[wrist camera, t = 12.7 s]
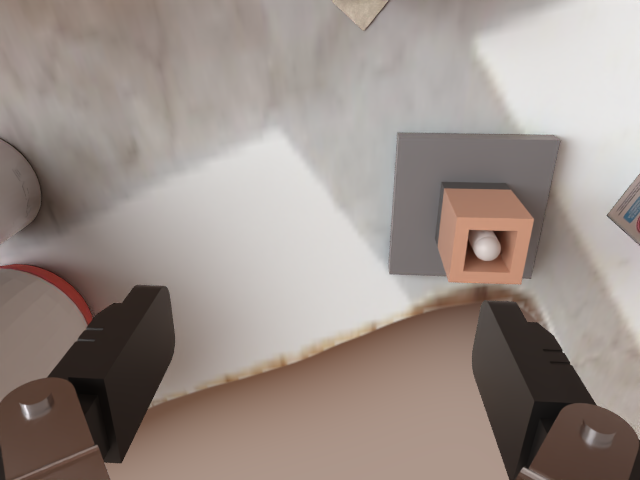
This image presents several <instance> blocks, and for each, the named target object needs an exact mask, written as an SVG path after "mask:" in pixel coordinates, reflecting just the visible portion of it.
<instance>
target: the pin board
mask: <svg viewBox="0 0 640 480" xmlns="http://www.w3.org/2000/svg"><path fill="white" fill-rule="evenodd" d="M559 145H560V139H558V138H557V137H555V136H554V135H517V134H451V133H397V147H396V162H395V177H394V192H393V206H392V221H391V236H390V251H389V274H399V275H431V276H447V275H446V272H445V269H444V266H443V263H442V259H441V256H440V253H439V250H438V247H437V244H436V241H435V234H436V224H437V215H438V206H439V197H440V188H441V182H479V183H506V184H507V185H508V186H509V188H510V189H511V190H512V192H513V193H514V194H515V195H516V197H517V198H518V199H519V200H520V202H521V203H522V204H523V206H524V207H525V208H526V209H527V211H528V212H529V213H530V214H531V216H532V217H533V218H534V222H533V227H532V232H531V237H530V242H529V247H528V252H527V257H526V262H525V267H524V271H523V276H522V278H526V279H531V276H532V272H533V267H534V262H535V257H536V253H537V248H538V243H539V239H540V234H541V229H542V225H543V220H544V215H545V210H546V206H547V201H548V196H549V192H550V187H551V182H552V177H553V173H554V168H555V163H556V159H557V154H558V149H559ZM468 240H469V242H470V244H471V246H472V249H473V251H474V253H475V255H476V256H477V257H478V258H479V259H481V260H483V261H491V260H494V259H495V258H497V257H498V255H499V254H500V251H501V245H500V243H499V241H498V239H497V237H496V236H495V234H494V232H493V230H469V234H468Z"/></svg>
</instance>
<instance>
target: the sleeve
mask: <svg viewBox="0 0 640 480" xmlns="http://www.w3.org/2000/svg"><path fill="white" fill-rule="evenodd" d="M533 222H534V218H533V217H532V216H531V214H530V213H529V212H528V211H527V209H526V208H525V207H524V206H523V204H522V203H521V202H520V200H519V199H518V198H517V197H516V195H515V194H514V193H513V192H512V190H511V189H510V188H509V186H508V185H507V184H506V183H479V182H441V188H440V197H439V206H438V215H437V224H436V234H435V241H436V244H437V247H438V250H439V253H440V256H441V259H442V263H443V266H444V269H445V272H446V275H447V278H448V281H449V282H462V283H495V284H521V281H522V276H523V271H524V267H525V262H526V257H527V252H528V247H529V242H530V237H531V232H532V227H533ZM469 230H493V232H494V234H495V236H496V237H497V239H498V241H499V243H500V245H501V251H500V254H499V255H498V257H497V258H495V259H494V260H491V261H483V260H481V259H479V258H478V257H477V256H476V255H475V253H474V251H473V249H472V246H471V244H470V242H469V240H468V234H469Z"/></svg>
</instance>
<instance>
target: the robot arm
mask: <svg viewBox="0 0 640 480" xmlns="http://www.w3.org/2000/svg"><path fill="white" fill-rule="evenodd" d="M40 206H41V190H40V185H39V182H38V179H37V177H36V174H35V172H34V171H33V169H32V167H31V166H30V164H29V163H28V162H27V160H26V159H25V158H24V157H23V156H22V154H20V153H19V152H18V151H17V150H16V149H15V148H14V147H12V146H11V145H9V144H8V143H6V142H5V141H3V140H1V139H0V244H2V243H3V242H5V241H6V240H8V239H9V238H10V237H12V236H13V235H15V234H16V233H17V232H19V231H20V230H22V229H23V228H25V227H26V226H27V225H28V224H30V223H31V222H32V221H33V220H34V218H35V217H36V216H37V214H38V211H39V208H40ZM174 347H175V333H174V326H173V318H172V310H171V302H170V294H169V290H168V288H167V287H166V286H150V285H136V286H134V288H133V289H132V290H131V292H130V293H129V294H128V296H127V297H126V298H125V300H124V301H123V303H122V304H121V303H113V304H112V305H110V306H109V307H107V308H106V309H104V310H103V311H101V312H100V313H98V314H97V315H96V316H95V317H94V318H93V320H92V321H91V322H90V323H89V325H88V326H87V327H86V330H84V331H83V332H82V334H81V335H80V336H79V337H78V340H77V341H75V342H74V344H73V345H72V346H71V347H70V349H69V350H68V351H67V353H66V354H65V355H64V356H63V358H62V359H61V360H60V361H59V363H58V364H57V365H56V366H55V368H54V369H53V370H52V372H51V373H50V374H49V375H48V377H47V378H42V379H37V380H34V381H30V382H28V383H25V384H23V385H21V386H19V387H17V388H16V389H14V390H13V391H11V392H10V393H9V394H7V395H6V396H5V397H4V398H3V399H2V401H1V402H0V480H110V477H109V474H108V472H107V469H106V466H105V464H104V462H106V463H107V462H108V463H122V461H123V459H124V457H125V455H126V453H127V451H128V449H129V447H130V445H131V443H132V441H133V439H134V436H135V434H136V432H137V430H138V428H139V426H140V424H141V422H142V420H143V418H144V415H145V414H146V411H147V410H148V407H149V405H150V403H151V401H152V399H153V397H154V395H155V393H156V391H157V389H158V387H159V385H160V383H161V381H162V378H163V376H164V374H165V372H166V370H167V368H168V366H169V364H170V362H171V360H172V357H173V353H174ZM562 351H563V350H562V348H561V347H560V345H559V344H558V342H557V340H556V339H555V337H554V336H553V335H552V334H551V333H550V332H548V331H547V330H546V329H545V328H543V327H542V326H541V325H540V324H538V323H537V322H527V321H526V319H525V317H524V315H523V313H522V312H521V310H520V308H519V306H518V305H517V303H516V302H509V301H483V303H482V305H481V309H480V314H479V319H478V325H477V330H476V335H475V341H474V345H473V351H472V368H473V374H474V377H475V380H476V383H477V386H478V389H479V392H480V395H481V398H482V401H483V404H484V407H485V409H486V412H487V415H488V418H489V421H490V424H491V427H492V430H493V433H494V436H495V439H496V442H497V445H498V448H499V450H500V453H501V456H502V459H503V462H504V465H505V468H506V471H507V474H508V477H509V480H640V440H639V439H638V436H637V434H636V433H635V431H634V430H633V428H632V427H631V426H630V425H629V424H628V423H627V422H626V421H625V420H624V419H622V418H621V417H620V416H618V415H616V414H615V413H613V412H611V411H609V410H607V409H605V408H602V407H599V406H597V405H596V403H595V402H594V400H593V399H592V397H591V395H590V394H589V392H588V391H587V389H586V387H585V386H584V384H583V382H582V381H581V379H580V378H579V376H578V374H577V373H576V371H575V370H574V368H573V366H572V365H570V361H569V360H568V358H567V357H566V355H565V353H563V352H562Z"/></svg>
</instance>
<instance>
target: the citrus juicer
mask: <svg viewBox="0 0 640 480" xmlns="http://www.w3.org/2000/svg"><path fill="white" fill-rule="evenodd" d="M91 321H92V315H91V312H90V310H89V308H88V305H87V304H86V302H85V301H84V299H83V298H82V296H81V295H80V294H79V293H78V292H77V291H76V290H75V289H74V288H73V286H71V285H70V284H69V283H67V282H66V281H65V280H64V279H62V278H61V277H59V276H57V275H55V274H54V273H52V272H50V271H47V270H44V269H42V268H39V267H35V266H30V265H22V264H13V265H5V266H0V402H1V401H2V399H3V398H4V397H5V396H6V395H7V394H9V393H10V392H11V391H13V390H14V389H16V388H17V387H19V386H21V385H23V384H25V383H28V382H30V381H34V380H37V379H42V378H47V377H48V375H49V374H50V373H51V372H52V370H53V369H54V368H55V366H56V365H57V364H58V363H59V361H60V360H61V359H62V358H63V356H64V355H65V354H66V353H67V351H68V350H69V349H70V347H71V346H72V345H73V344H74V342H75V341H77V340H78V337H79V336H80V335H81V334H82V332H83V331H84V330H86V327H87V326H88V325H89V323H90V322H91Z"/></svg>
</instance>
